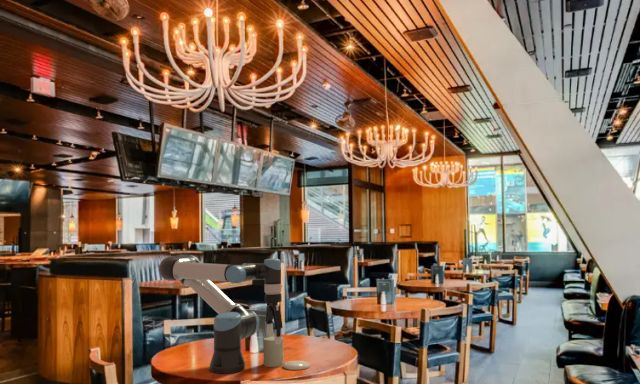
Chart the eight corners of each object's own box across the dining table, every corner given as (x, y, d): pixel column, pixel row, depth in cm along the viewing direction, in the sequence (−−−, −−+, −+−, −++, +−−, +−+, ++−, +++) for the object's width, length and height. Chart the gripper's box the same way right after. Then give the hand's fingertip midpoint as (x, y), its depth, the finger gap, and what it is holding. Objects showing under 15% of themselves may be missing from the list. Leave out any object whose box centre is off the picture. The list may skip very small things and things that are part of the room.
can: (274, 368, 223) (273, 340, 224) (258, 365, 229) (258, 337, 230) (288, 363, 230) (287, 336, 231) (272, 360, 236) (272, 334, 237)
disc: (287, 371, 218) (287, 368, 218) (279, 364, 229) (279, 362, 229) (314, 368, 222) (314, 365, 222) (305, 361, 233) (305, 359, 233)
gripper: (289, 295, 221) (290, 345, 220) (273, 290, 245) (274, 335, 243) (272, 296, 219) (273, 347, 217) (258, 291, 242) (259, 336, 241)
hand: (273, 341), depth 230 cm, fingers open, 13 cm apart
